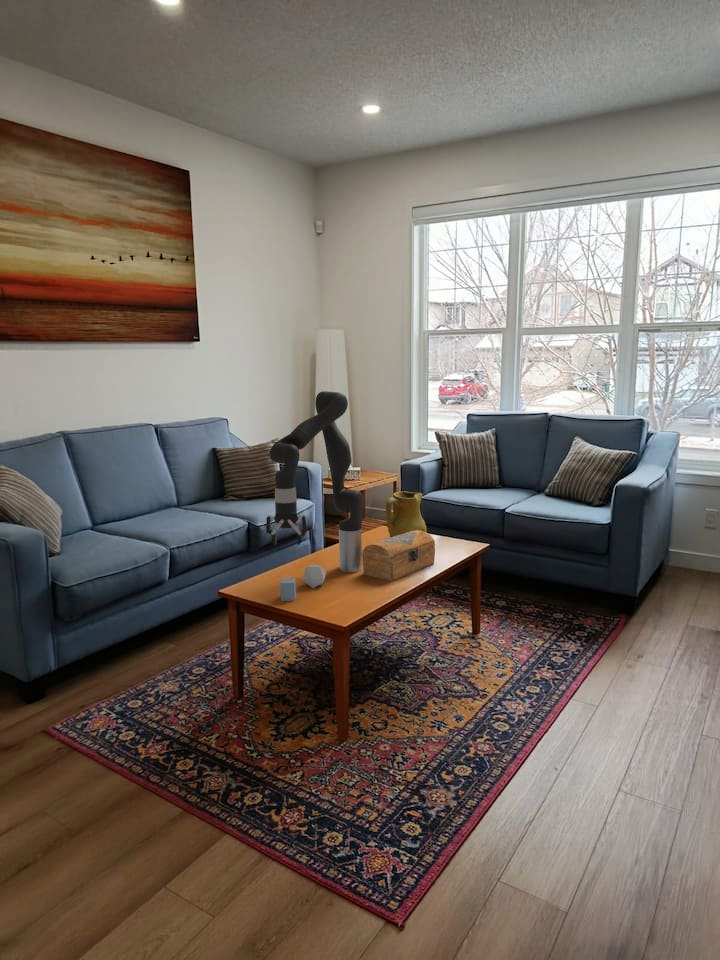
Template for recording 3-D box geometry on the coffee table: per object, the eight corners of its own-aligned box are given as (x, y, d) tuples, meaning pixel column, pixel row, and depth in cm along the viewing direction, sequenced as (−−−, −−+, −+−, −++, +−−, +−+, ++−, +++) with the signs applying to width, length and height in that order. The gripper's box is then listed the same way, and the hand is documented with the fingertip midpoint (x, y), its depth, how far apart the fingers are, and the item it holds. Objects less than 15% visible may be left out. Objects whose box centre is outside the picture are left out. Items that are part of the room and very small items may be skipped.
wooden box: (393, 583, 260) (393, 548, 258) (361, 574, 271) (361, 541, 269) (438, 565, 282) (438, 533, 280) (406, 557, 293) (407, 526, 291)
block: (282, 596, 247) (281, 578, 245) (296, 596, 247) (295, 578, 245) (280, 601, 242) (280, 583, 240) (294, 601, 242) (294, 582, 240)
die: (322, 590, 252) (327, 585, 262) (323, 566, 252) (327, 562, 262) (300, 589, 253) (305, 584, 263) (300, 565, 253) (306, 561, 263)
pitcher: (427, 551, 301) (427, 497, 297) (385, 551, 302) (385, 497, 297) (425, 541, 318) (425, 489, 313) (385, 541, 319) (385, 489, 314)
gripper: (306, 497, 241) (307, 541, 244) (267, 497, 241) (268, 541, 244) (305, 501, 234) (306, 547, 237) (264, 502, 234) (265, 547, 237)
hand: (287, 544), depth 240 cm, fingers open, 8 cm apart
